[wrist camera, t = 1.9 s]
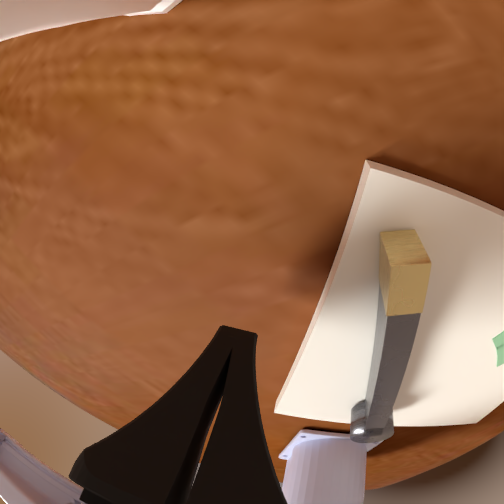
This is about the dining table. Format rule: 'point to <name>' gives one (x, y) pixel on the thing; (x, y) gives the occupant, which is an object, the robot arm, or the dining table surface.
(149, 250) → the dining table surface
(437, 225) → the board
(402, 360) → the lever
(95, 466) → the robot arm
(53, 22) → the cup
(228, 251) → the dining table surface
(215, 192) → the dining table surface
